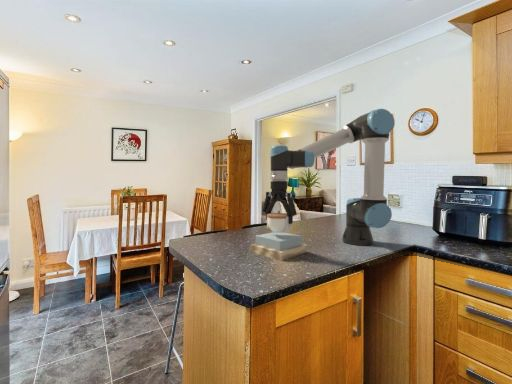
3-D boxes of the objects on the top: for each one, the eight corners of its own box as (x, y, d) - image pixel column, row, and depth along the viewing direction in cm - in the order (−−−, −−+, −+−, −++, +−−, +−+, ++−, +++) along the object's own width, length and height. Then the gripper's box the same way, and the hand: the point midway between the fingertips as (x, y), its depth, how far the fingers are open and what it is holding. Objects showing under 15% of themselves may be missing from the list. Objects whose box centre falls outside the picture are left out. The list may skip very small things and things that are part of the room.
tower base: (306, 253, 124) (306, 244, 124) (281, 262, 112) (281, 252, 111) (276, 246, 137) (276, 238, 137) (250, 253, 124) (250, 244, 124)
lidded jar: (263, 230, 127) (263, 210, 126) (283, 228, 131) (283, 209, 130) (273, 234, 117) (273, 212, 116) (295, 232, 121) (295, 211, 120)
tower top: (302, 244, 124) (302, 236, 124) (279, 250, 114) (279, 241, 113) (278, 239, 135) (278, 231, 135) (255, 244, 125) (255, 235, 125)
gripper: (254, 180, 128) (254, 227, 129) (294, 180, 112) (294, 234, 113) (265, 180, 133) (265, 225, 135) (305, 180, 117) (304, 231, 118)
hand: (278, 229), depth 124 cm, fingers closed on lidded jar, 11 cm apart
